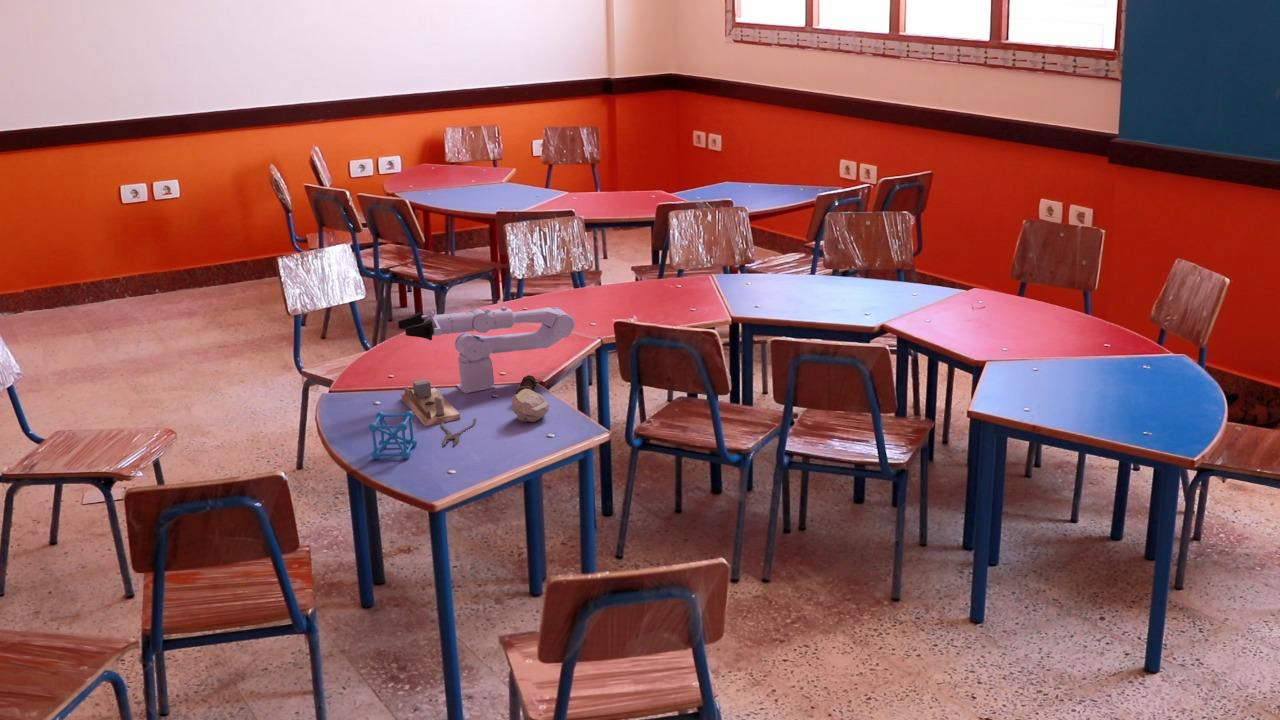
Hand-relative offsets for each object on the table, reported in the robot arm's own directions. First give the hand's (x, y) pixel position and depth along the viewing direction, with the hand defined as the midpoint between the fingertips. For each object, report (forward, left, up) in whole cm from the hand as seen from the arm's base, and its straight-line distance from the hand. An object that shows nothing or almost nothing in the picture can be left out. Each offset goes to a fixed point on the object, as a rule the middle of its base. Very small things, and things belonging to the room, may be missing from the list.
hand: (402, 328), depth 346 cm
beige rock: (-25, +32, -22) cm, 46 cm away
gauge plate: (-3, +10, -22) cm, 24 cm away
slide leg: (-3, +3, -20) cm, 20 cm away
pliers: (-5, +31, -22) cm, 39 cm away
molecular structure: (+14, +36, -22) cm, 44 cm away
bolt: (-31, +14, -22) cm, 41 cm away
